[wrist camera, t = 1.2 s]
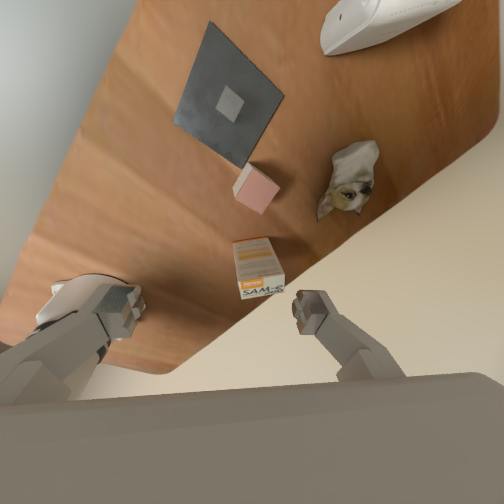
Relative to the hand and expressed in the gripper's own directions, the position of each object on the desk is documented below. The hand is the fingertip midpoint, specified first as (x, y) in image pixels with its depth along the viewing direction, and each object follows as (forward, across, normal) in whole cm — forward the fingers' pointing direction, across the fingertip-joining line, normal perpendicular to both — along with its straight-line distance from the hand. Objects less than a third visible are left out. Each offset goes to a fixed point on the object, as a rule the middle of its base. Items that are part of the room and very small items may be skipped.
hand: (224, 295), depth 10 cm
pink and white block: (+28, -5, +1) cm, 29 cm away
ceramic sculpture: (+29, -22, -2) cm, 37 cm away
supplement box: (+28, -7, +15) cm, 33 cm away
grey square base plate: (+28, 0, -9) cm, 30 cm away
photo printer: (+29, -16, -21) cm, 39 cm away
